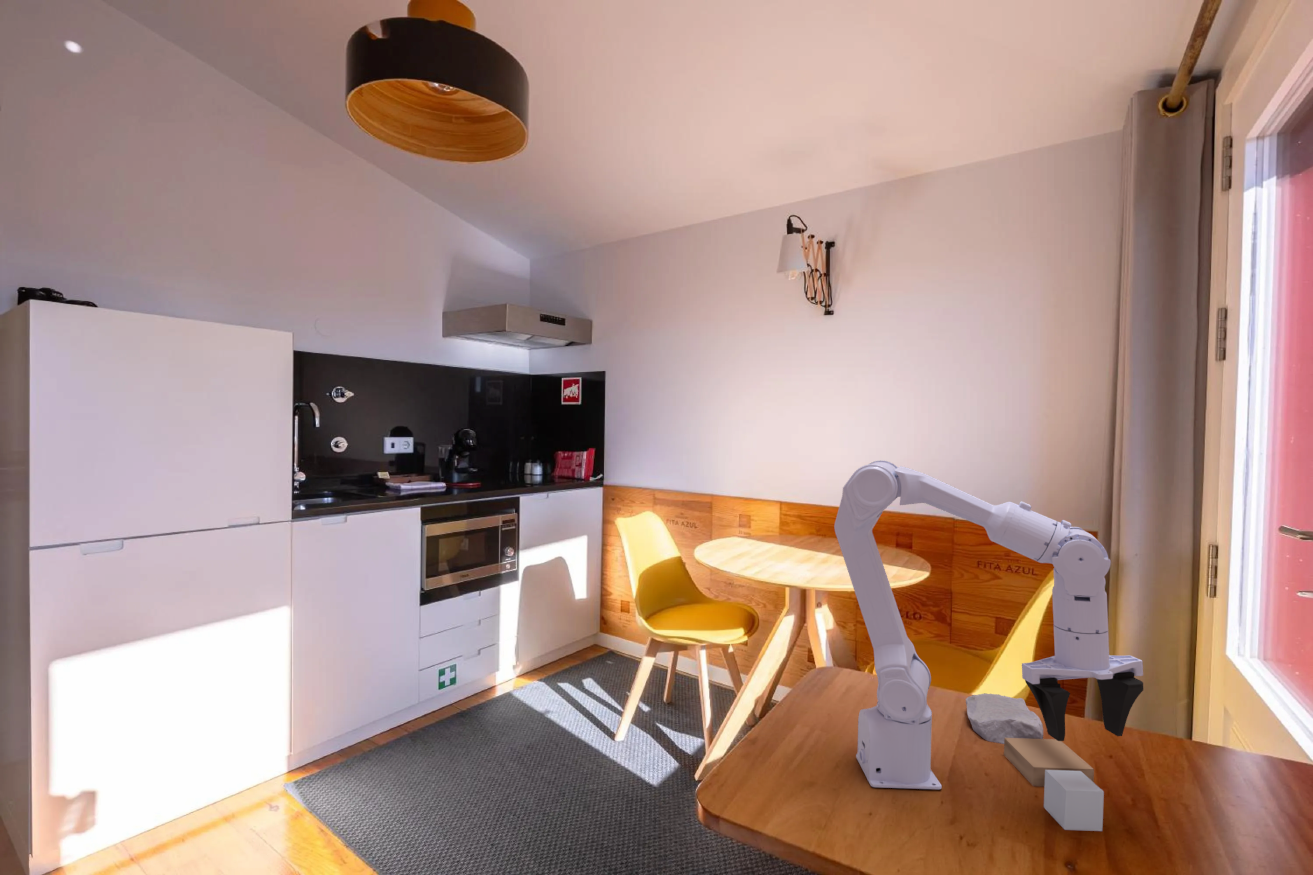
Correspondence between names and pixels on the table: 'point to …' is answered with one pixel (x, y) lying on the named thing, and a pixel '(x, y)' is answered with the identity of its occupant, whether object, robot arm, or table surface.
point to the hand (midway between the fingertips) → (1084, 734)
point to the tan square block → (1043, 758)
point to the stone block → (1002, 718)
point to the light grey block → (1073, 800)
